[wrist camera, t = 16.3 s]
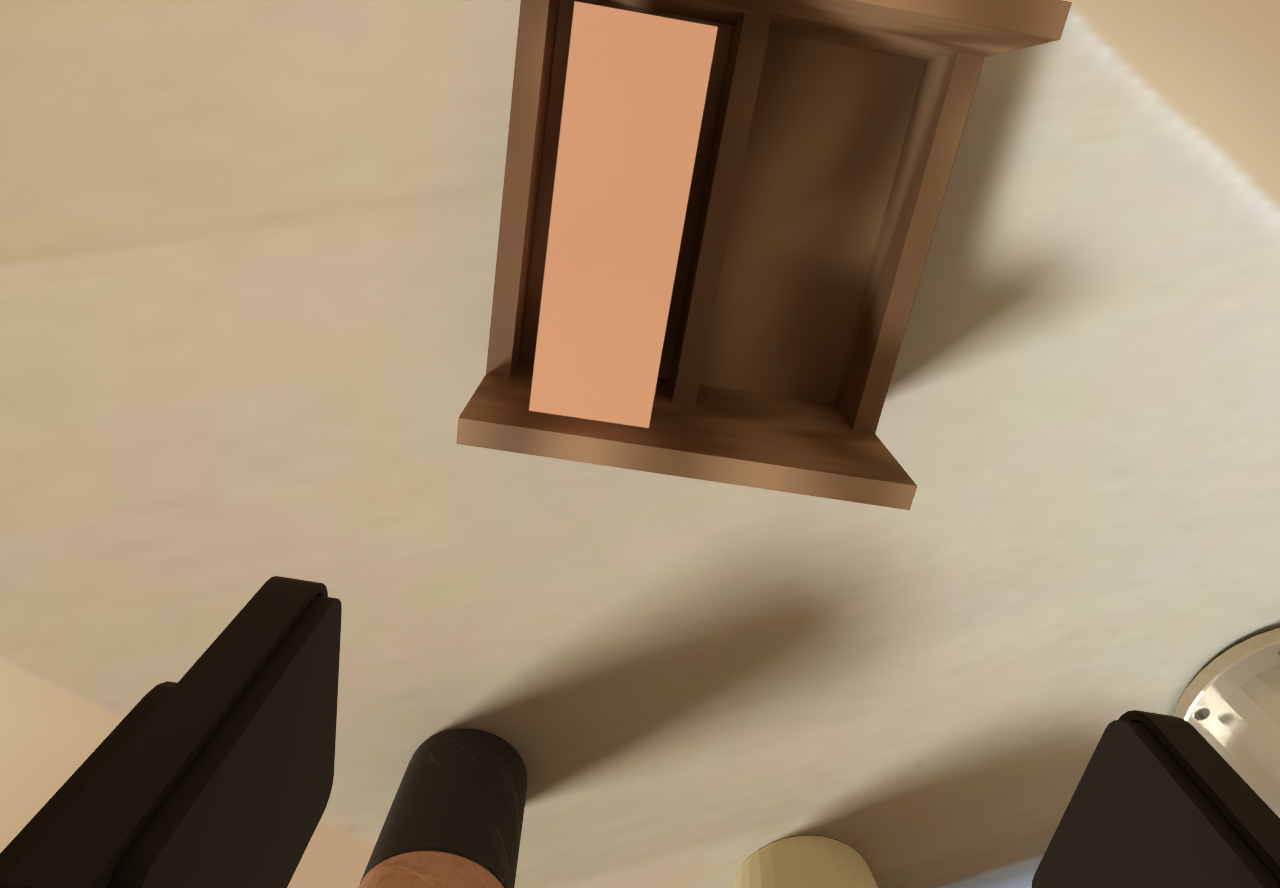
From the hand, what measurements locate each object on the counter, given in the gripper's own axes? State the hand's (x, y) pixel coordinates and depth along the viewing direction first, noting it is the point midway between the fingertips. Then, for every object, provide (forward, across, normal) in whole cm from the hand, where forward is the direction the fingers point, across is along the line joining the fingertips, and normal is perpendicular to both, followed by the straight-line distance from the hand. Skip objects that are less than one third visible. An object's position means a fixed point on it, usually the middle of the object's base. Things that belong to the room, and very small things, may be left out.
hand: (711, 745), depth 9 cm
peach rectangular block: (+28, +3, -4) cm, 28 cm away
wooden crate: (+29, -1, -4) cm, 29 cm away
